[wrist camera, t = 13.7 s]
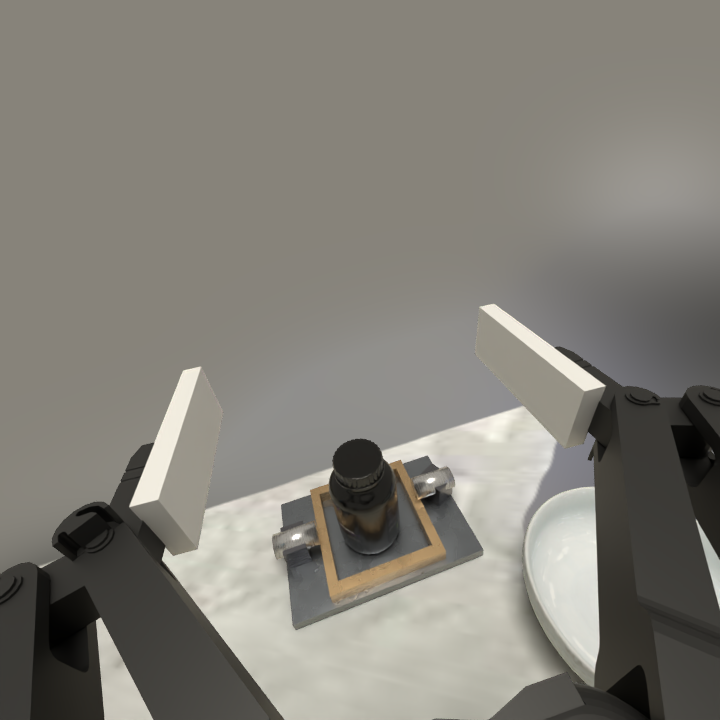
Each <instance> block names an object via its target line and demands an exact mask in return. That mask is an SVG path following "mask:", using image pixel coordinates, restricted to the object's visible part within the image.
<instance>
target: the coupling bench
mask: <svg viewBox="0 0 720 720" xmlns="http://www.w3.org/2000/svg"><path fill="white" fill-rule="evenodd" d="M389 465H390V466H391V468H392V469H393V471H394V474H395V479H396V486H397V496H398V506H399V516H400V528H399V532H398V535H397V537H396V539H395V541H394V542H393V543H392V544H391V545H390V546H389V547H388V548H387V549H385V550H384V551H381V552H379V553H375V554H363V553H360V552H357V551H355V550H354V549H352V548H351V547H350V546H349V545H348V544H347V543H346V542H345V540H344V538H343V536H342V533H341V530H340V527H339V524H338V521H337V517H336V514H335V511H334V507H333V504H332V501H331V497H330V493H329V484H327V485H324V486H321V487H318V488H315V489H312V490H310V492H311V495H309V496H306V497H303V498H300V499H297V500H294V501H291V502H288V503H285V504H282V505H281V509H282V519H283V527H282V528H280V529H281V532H280V533H277V534H274V535H273V537H272V542H273V549H274V553H275V556H276V558H277V560H278V559H281V558H284V559H285V560H286V562H287V570H288V580H289V590H290V600H291V611H292V621H293V626H294V628H295V629H296V630H297V629H299V628H302V627H304V626H307V625H309V624H312V623H314V622H317V621H319V620H322V619H324V618H327V617H329V616H332V615H334V614H337V613H339V612H342V611H344V610H347V609H349V608H352V607H354V606H357V605H359V604H362V603H364V602H367V601H369V600H372V599H374V598H377V597H379V596H382V595H384V594H387V593H389V592H392V591H394V590H397V589H399V588H402V587H404V586H407V585H409V584H412V583H414V582H417V581H419V580H422V579H424V578H427V577H429V576H432V575H434V574H437V573H439V572H442V571H444V570H447V569H449V568H452V567H454V566H457V565H459V564H462V563H464V562H467V561H469V560H472V559H474V558H477V557H479V556H482V555H483V548H482V547H481V545H480V543H479V541H478V540H477V538H476V536H475V535H474V533H473V531H472V530H471V528H470V526H469V525H468V523H467V521H466V520H465V518H464V516H463V515H462V513H461V511H460V509H459V508H458V506H457V504H456V503H455V501H454V499H453V498H452V496H451V494H452V487H455V480H454V477H453V475H452V473H451V471H450V469H449V468H448V467H447V466H446V467H443V468H440V469H439V468H438V467H436V466H435V465H434V464H432V462H431V461H430V459H429V457H428V456H425V457H422V458H419V459H416V460H413V461H410V462H407V463H404V464H402V462H401V460H399V461H396V462H393V463H390V464H389Z"/></svg>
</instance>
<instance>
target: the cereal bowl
mask: <svg viewBox="0 0 720 720" xmlns="http://www.w3.org/2000/svg"><path fill="white" fill-rule="evenodd" d="M696 522H697V526H698V530H699V533H700V537H701V541H702V544H703V548H704V552H705V556H706V559H707V563H708V567H709V571H710V574H711V578H712V582H713V585H714V589H715V593H716V597H717V600H718V604H719V608H720V560H719V558H718V556H717V554H716V553H715V551H714V549H713V547H712V546H711V544H710V542H709V540H708V539H707V537H706V535H705V533H704V532H703V530H702V528H701V527H700V525H699V523H698V521H697V520H696ZM522 563H523V574H524V581H525V585H526V589H527V593H528V596H529V599H530V603H531V605H532V607H533V610H534V612H535V615H536V617H537V619H538V621H539V623H540V625H541V626H542V628H543V630H544V632H545V634H546V635H547V637H548V639H549V640H550V642H551V643H552V644H553V646H554V647H555V649H556V650H557V651H558V653H559V654H560V656H561V657H562V658H563V659H564V660H565V662H566V663H567V664H568V665H569V666H570V668H571V669H572V670H573V671H574V672H575V673H576V674H577V675H578V676H579V677H580V678H581V679H582V680H583V681H584V682H585V683H586V684H587V685H589V686H592V687H594V674H595V665H596V661H597V656H598V652H599V639H600V638H599V607H598V575H597V544H596V512H595V487H585V488H577V489H572V490H568V491H565V492H562V493H560V494H557V495H555V496H554V497H552V498H550V499H549V500H547V501H546V502H545V503H544V504H543V505H542V506H541V507H540V508H539V509H538V510H537V512H536V513H535V514H534V516H533V517H532V519H531V521H530V523H529V525H528V527H527V531H526V534H525V538H524V544H523V557H522Z"/></svg>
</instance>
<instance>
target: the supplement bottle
mask: <svg viewBox="0 0 720 720" xmlns="http://www.w3.org/2000/svg"><path fill="white" fill-rule="evenodd" d="M332 461H333V469H334V470H333V471H332V473H331V476H330V479H329V493H330V497H331V501H332V504H333V507H334V511H335V514H336V517H337V521H338V524H339V527H340V530H341V533H342V536H343V538H344V540H345V542H346V543H347V544H348V545H349V546H350V547H351V548H352V549H354V550H355V551H357V552H360V553H363V554H375V553H379V552H381V551H384V550H385V549H387V548H388V547H389V546H390V545H391V544H392V543H393V542H394V541H395V539H396V537H397V535H398V532H399V528H400V516H399V506H398V496H397V486H396V479H395V474H394V471H393V469H392V468H391V466H390V465H389V464H388V462H386V461H385V460H384V459H383V456H382V452H381V451H380V448H379V447H378V446H377V445H376V444H375V443H374V442H371V441H369V440H366V439H355V440H351V441H347V442H346V443H344V444H343V445H341V446H340V447H339V448H338V449H337V451H336V452H335V455H334V456H333V460H332Z"/></svg>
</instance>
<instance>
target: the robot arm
mask: <svg viewBox="0 0 720 720" xmlns="http://www.w3.org/2000/svg"><path fill="white" fill-rule="evenodd" d="M475 355H476V356H477V357H478V358H479V359H480V360H481V361H482V362H483V363H484V364H485V365H486V366H487V367H488V368H489V370H490V371H491V372H492V373H493V374H494V375H495V376H496V377H497V378H498V379H499V380H500V381H501V382H502V383H503V384H504V385H505V386H506V387H507V388H508V390H509V391H510V392H511V393H512V394H513V395H514V396H515V397H516V398H517V399H518V400H519V401H520V402H521V403H522V404H523V405H524V406H525V407H526V409H527V410H528V411H529V412H530V413H531V414H532V415H533V416H534V417H535V418H536V419H537V420H538V421H539V422H540V423H541V424H542V425H543V426H544V428H545V429H546V430H547V431H548V432H549V433H550V434H551V435H552V436H553V437H554V438H555V439H556V440H557V441H558V442H559V443H560V444H561V445H562V446H563V448H565V449H566V448H570V447H573V446H577V445H580V444H584V441H585V439H586V436H587V433H588V432H589V433H590V434H591V435H592V436H593V437H594V438H595V439H596V440H595V442H594V445H593V447H592V450H591V452H590V455H589V457H588V460H590V461H591V460H592V458H593V456H594V479H595V512H596V544H597V575H598V607H599V638H600V639H599V652H598V656H597V661H596V665H595V674H594V687H592V686H589V685H584V684H579V683H573V682H572V680H571V678H570V677H569V675H568V673H567V672H566V673H563V674H560V675H557V676H554V677H551V678H549V679H546V680H543V681H540V682H537V683H535V684H532V685H529V686H526V687H525V688H524V689H523V690H521V691H520V692H519V693H518V694H517V695H516V696H515V697H514V698H513V699H512V700H511V701H509V702H508V703H507V704H506V705H505V706H504V707H503V708H502V709H501V710H500V711H498V712H497V713H496V714H495V715H494V716H493V717H492V718H490V719H489V720H720V608H719V604H718V600H717V597H716V593H715V589H714V585H713V582H712V578H711V574H710V571H709V567H708V563H707V559H706V556H705V552H704V548H703V544H702V541H701V537H700V533H699V530H698V526H697V522H696V520H697V521H698V523H699V525H700V527H701V528H702V530H703V532H704V533H705V535H706V537H707V539H708V540H709V542H710V544H711V546H712V547H713V549H714V551H715V553H716V554H717V556H718V558H719V560H720V389H717V388H714V387H709V386H702V385H700V386H692V387H690V388H688V389H687V390H686V392H685V394H684V396H683V397H682V398H660V397H659V396H658V395H656V394H655V393H653V392H651V391H649V390H647V389H643V388H639V387H632V386H626V387H622V386H621V385H620V384H618V383H617V382H615V381H614V380H612V379H611V378H610V377H608V376H607V375H605V374H604V373H602V372H601V371H600V370H598V369H597V368H595V367H592V366H591V364H590V363H588V362H587V361H585V360H584V361H583V359H582V358H581V357H580V356H578V355H577V354H575V353H574V352H572V351H570V350H567V349H565V348H562V347H555V348H554V347H552V346H551V345H549V344H548V343H547V342H545V341H544V340H543V339H541V338H540V337H539V336H537V335H536V334H534V333H533V332H532V331H530V330H529V329H528V328H526V327H525V326H524V325H522V324H521V323H519V322H518V321H517V320H515V319H514V318H513V317H511V316H510V315H508V314H507V313H506V312H504V311H503V310H501V309H500V308H499V307H498V306H496V305H495V304H491V305H486V306H482V307H479V317H478V327H477V338H476V349H475ZM222 417H223V411H222V409H221V407H220V405H219V403H218V401H217V398H216V396H215V394H214V392H213V390H212V388H211V386H210V384H209V382H208V380H207V378H206V376H205V374H204V371H203V370H202V368H201V367H198V368H193V369H189V370H184V371H183V372H182V375H181V378H180V380H179V383H178V385H177V388H176V390H175V393H174V395H173V398H172V400H171V403H170V405H169V408H168V410H167V413H166V415H165V418H164V421H163V423H162V425H161V428H160V431H159V433H158V436H157V438H156V441H155V443H151V444H146V445H142V446H141V447H140V448H139V450H138V451H137V452H136V453H135V454H134V455H133V456H132V457H131V459H130V462H129V464H128V466H127V468H126V473H124V475H123V477H122V479H121V483H120V484H119V486H118V488H117V490H116V492H115V495H114V497H113V499H112V501H111V503H110V506H109V505H107V504H106V503H105V502H93V503H90V504H87V505H85V506H83V507H81V508H79V509H77V510H76V511H74V512H73V513H72V514H70V515H69V516H68V517H67V518H66V519H65V520H63V522H62V523H61V524H60V525H59V527H58V528H57V529H56V531H55V533H54V535H53V538H52V545H53V547H54V548H56V549H57V550H58V551H60V552H61V553H62V554H63V555H65V556H64V557H62V558H60V559H58V560H56V561H54V562H52V563H50V564H48V565H47V566H45V567H43V568H39V567H38V566H37V565H35V564H32V563H30V562H27V563H21V564H18V565H16V566H14V567H11V568H9V569H7V570H6V571H5V572H3V573H2V574H0V720H104V709H103V697H102V686H101V674H100V663H99V651H98V640H97V628H96V620H97V619H99V618H100V617H101V618H102V620H103V622H104V624H105V626H106V628H107V630H108V632H109V634H110V636H111V638H112V640H113V641H114V643H115V645H116V647H117V649H118V651H119V653H120V655H121V657H122V659H123V661H124V663H125V665H126V667H127V669H128V671H129V673H130V675H131V677H132V679H133V680H134V682H135V684H136V686H137V688H138V690H139V692H140V694H141V696H142V698H143V700H144V702H145V704H146V706H147V708H148V710H149V712H150V714H151V716H152V718H153V719H154V720H284V719H283V717H282V716H281V715H280V713H279V712H278V711H277V709H276V708H275V707H274V705H273V704H272V703H271V702H270V700H269V699H268V698H267V696H266V695H265V694H264V692H263V691H262V690H261V688H260V687H259V686H258V685H257V683H256V682H255V681H254V679H253V678H252V677H251V675H250V674H249V673H248V671H247V670H246V669H245V668H244V666H243V665H242V664H241V662H240V661H239V660H238V658H237V657H236V656H235V654H234V653H233V652H232V650H231V649H230V648H229V647H228V645H227V644H226V643H225V641H224V640H223V639H222V637H221V636H220V635H219V633H218V632H217V631H216V630H215V628H214V627H213V626H212V624H211V623H210V622H209V620H208V619H207V618H206V616H205V615H204V614H203V613H202V611H201V610H200V609H199V607H198V606H197V605H196V603H195V602H194V601H193V599H192V598H191V597H190V595H189V594H188V593H187V592H186V590H185V589H184V588H183V586H182V585H181V584H180V582H179V581H178V580H177V578H176V577H175V576H174V575H173V573H172V572H171V571H170V569H169V568H168V567H167V565H166V564H165V563H164V562H163V561H162V557H163V553H164V549H165V547H166V548H167V549H168V551H169V552H170V553H171V554H172V555H173V556H174V555H178V554H181V553H185V552H189V551H192V550H196V549H198V545H199V539H200V534H201V529H202V523H203V518H204V513H205V507H206V502H207V496H208V491H209V485H210V481H211V475H212V470H213V464H214V459H215V454H216V449H217V443H218V438H219V433H220V427H221V422H222ZM711 450H713V452H714V454H713V453H712V452H711ZM714 455H715V456H714ZM433 720H458V719H433Z"/></svg>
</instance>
